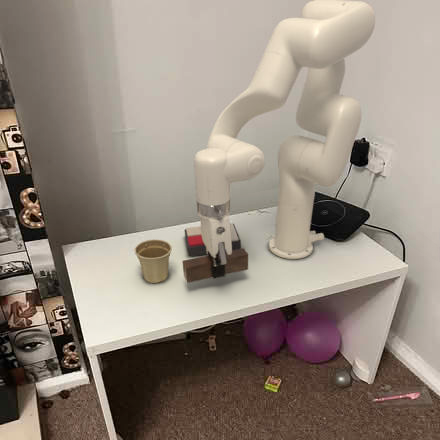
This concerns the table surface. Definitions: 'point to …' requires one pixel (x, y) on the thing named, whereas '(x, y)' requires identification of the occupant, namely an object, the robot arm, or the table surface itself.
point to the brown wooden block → (203, 265)
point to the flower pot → (154, 259)
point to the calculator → (197, 244)
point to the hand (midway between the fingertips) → (216, 271)
